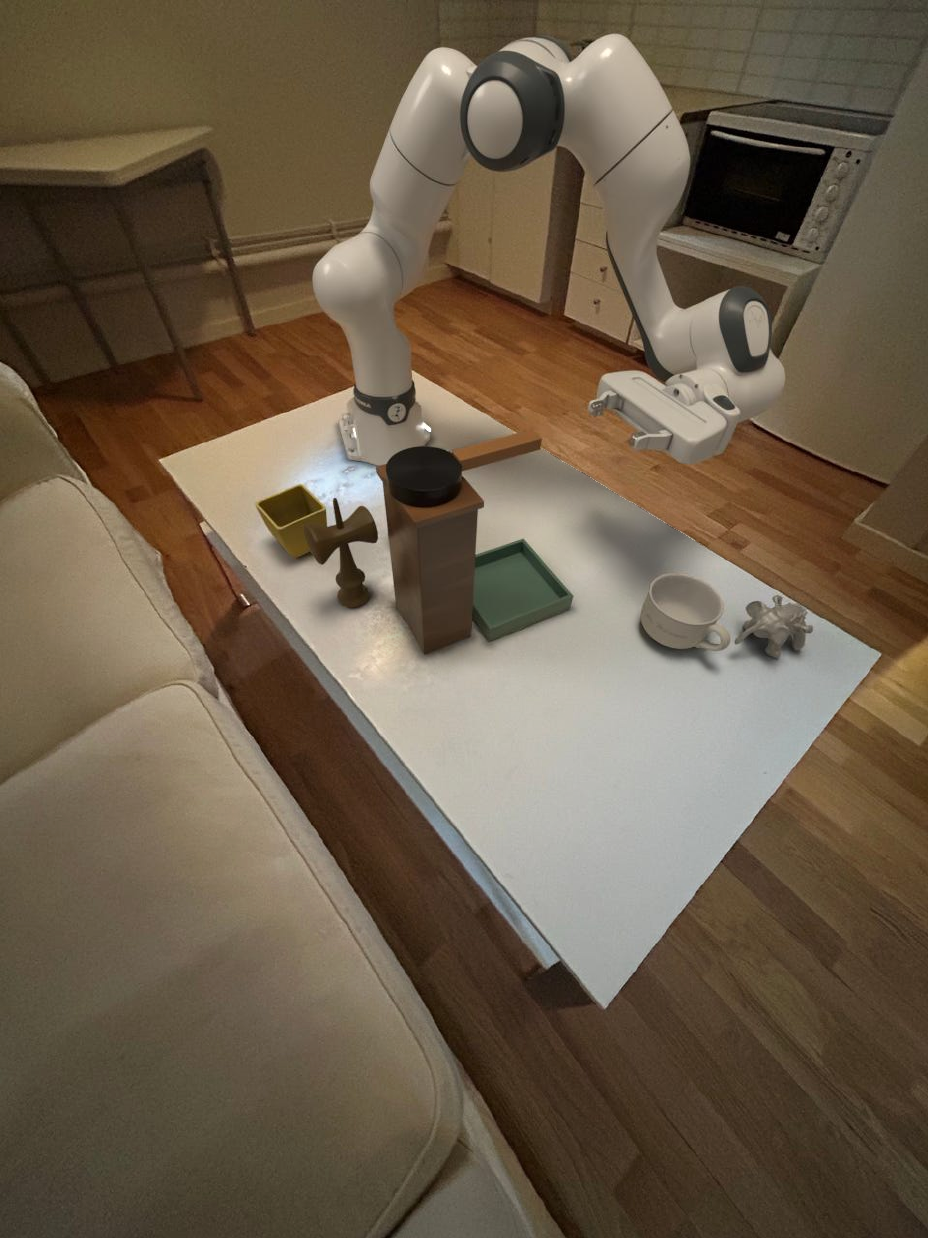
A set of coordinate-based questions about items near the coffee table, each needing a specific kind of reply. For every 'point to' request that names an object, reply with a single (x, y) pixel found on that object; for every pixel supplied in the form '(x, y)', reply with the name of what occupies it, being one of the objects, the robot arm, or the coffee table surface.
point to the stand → (434, 564)
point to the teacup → (683, 612)
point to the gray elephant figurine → (776, 624)
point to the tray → (514, 590)
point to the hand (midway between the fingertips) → (611, 425)
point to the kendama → (344, 550)
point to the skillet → (448, 467)
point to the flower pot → (292, 517)
